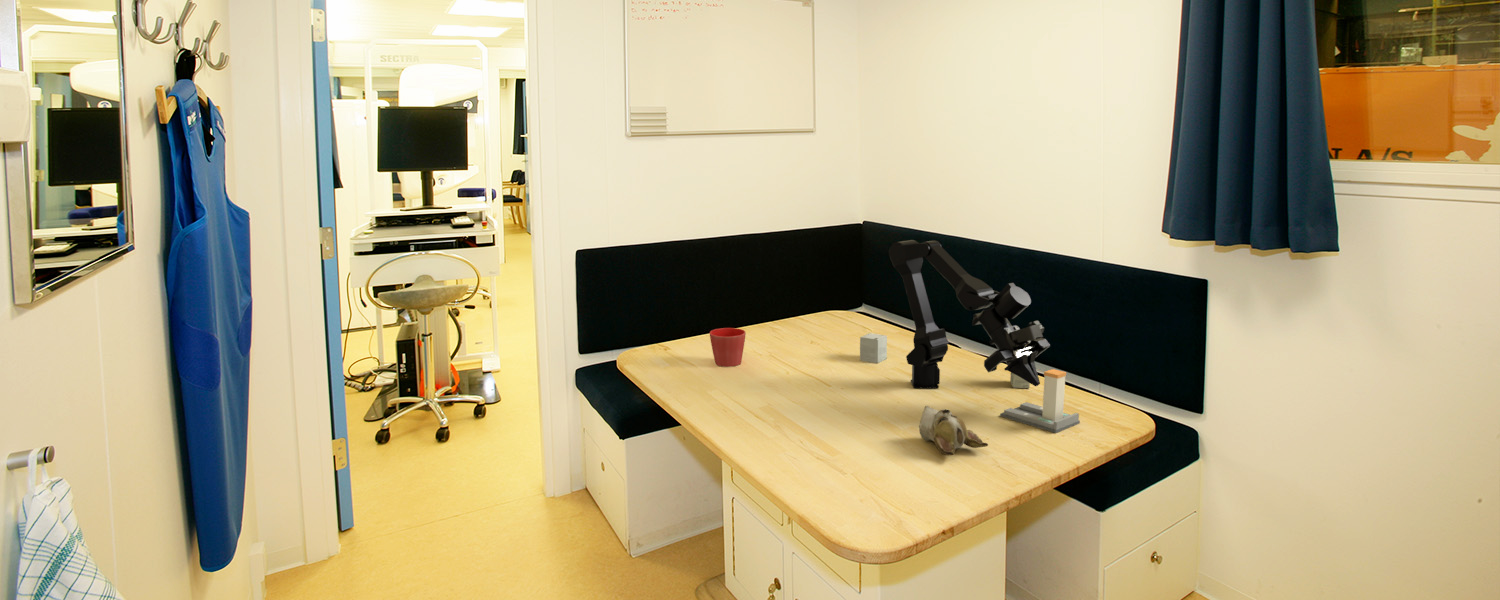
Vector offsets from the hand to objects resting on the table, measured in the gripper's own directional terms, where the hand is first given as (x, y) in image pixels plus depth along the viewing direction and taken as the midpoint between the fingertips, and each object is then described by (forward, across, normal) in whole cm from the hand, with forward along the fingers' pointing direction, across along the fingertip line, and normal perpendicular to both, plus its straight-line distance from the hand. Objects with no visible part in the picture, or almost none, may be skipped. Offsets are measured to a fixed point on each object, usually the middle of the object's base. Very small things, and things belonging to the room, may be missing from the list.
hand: (1037, 385), depth 186 cm
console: (+6, 0, +5) cm, 8 cm away
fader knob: (+9, 0, +3) cm, 9 cm away
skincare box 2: (-6, +19, +18) cm, 27 cm away
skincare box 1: (-36, +8, +49) cm, 61 cm away
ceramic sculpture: (+5, -29, +8) cm, 31 cm away
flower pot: (-54, -27, +67) cm, 90 cm away
